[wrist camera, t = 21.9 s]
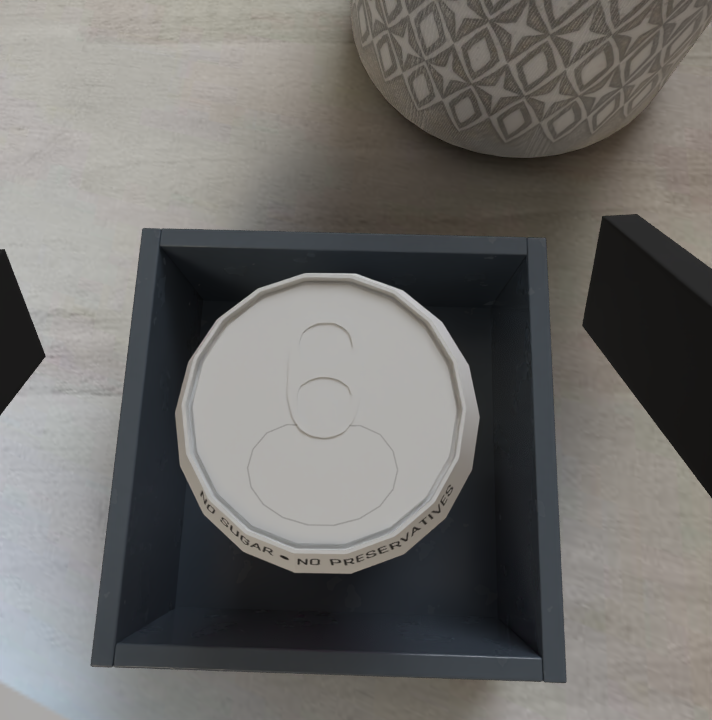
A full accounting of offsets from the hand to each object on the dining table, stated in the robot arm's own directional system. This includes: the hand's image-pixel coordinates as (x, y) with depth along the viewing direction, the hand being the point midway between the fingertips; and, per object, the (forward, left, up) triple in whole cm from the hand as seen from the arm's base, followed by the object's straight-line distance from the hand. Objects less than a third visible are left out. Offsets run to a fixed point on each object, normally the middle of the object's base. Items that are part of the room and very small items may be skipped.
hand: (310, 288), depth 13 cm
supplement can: (0, -2, -17) cm, 17 cm away
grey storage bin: (0, -2, -17) cm, 17 cm away
